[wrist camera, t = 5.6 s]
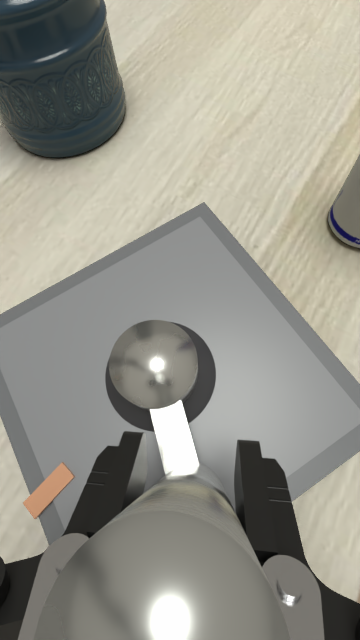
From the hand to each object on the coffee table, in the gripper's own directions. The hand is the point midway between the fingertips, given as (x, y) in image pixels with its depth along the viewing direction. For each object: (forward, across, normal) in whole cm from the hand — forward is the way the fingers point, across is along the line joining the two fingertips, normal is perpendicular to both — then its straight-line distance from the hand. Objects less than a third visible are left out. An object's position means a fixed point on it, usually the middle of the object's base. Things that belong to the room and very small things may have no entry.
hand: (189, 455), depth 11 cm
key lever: (+5, +1, +3) cm, 6 cm away
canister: (+31, +16, -15) cm, 38 cm away
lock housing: (+11, +2, +5) cm, 12 cm away
